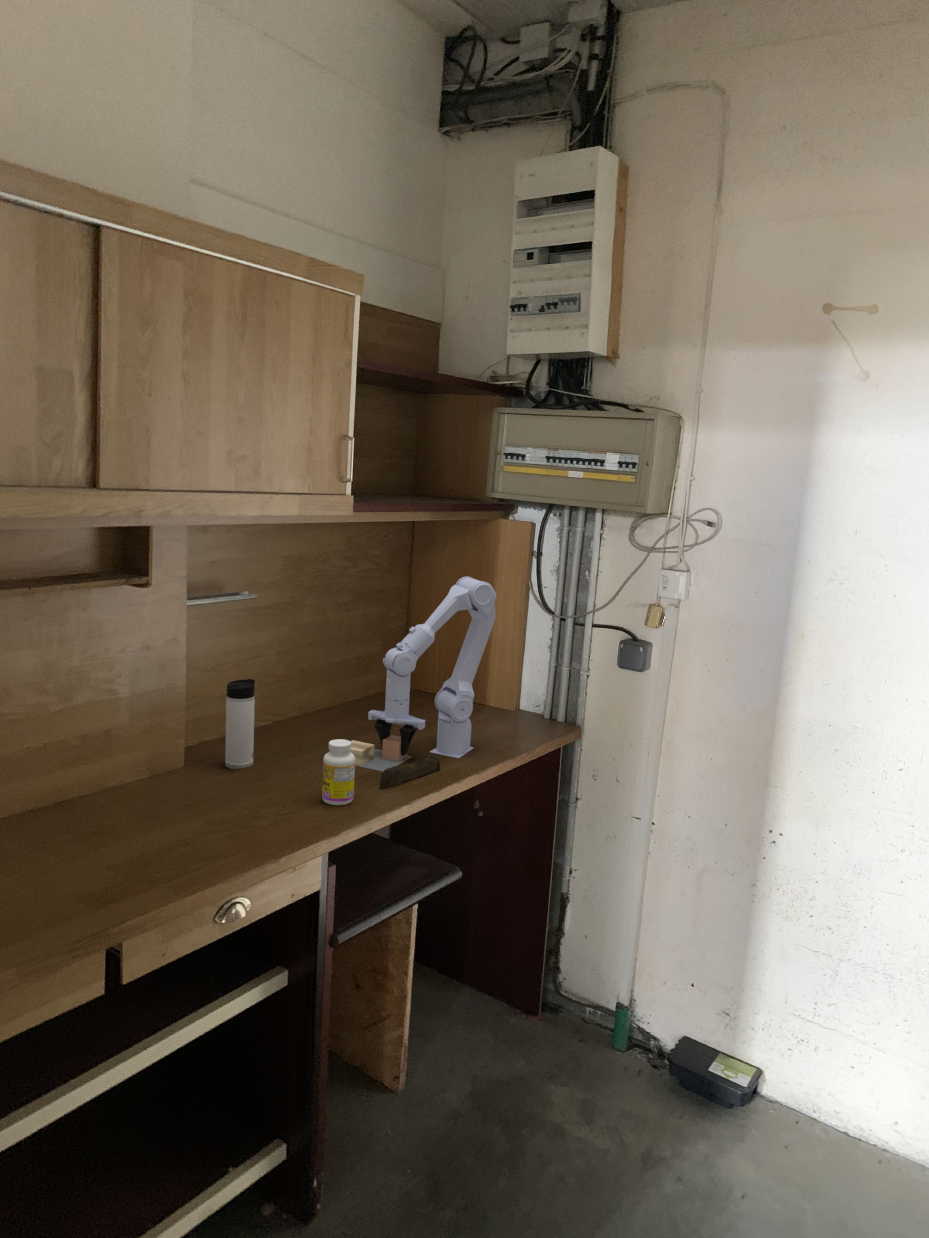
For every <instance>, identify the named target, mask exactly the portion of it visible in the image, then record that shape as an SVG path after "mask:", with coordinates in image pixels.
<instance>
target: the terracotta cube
mask: <svg viewBox="0 0 929 1238" xmlns="http://www.w3.org/2000/svg"><path fill="white" fill-rule="evenodd" d="M381 750H382V758H386V759H391V760H395V761H400V760H401V759H403V758H405V757H406V756H408V753H407V754H406V755H404V756H402V755H401V736H398V735H394V734H392V735H391V734H390V736H389V737H387V738H385V739H383V746H381Z"/></svg>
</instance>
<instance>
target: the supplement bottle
mask: <svg viewBox="0 0 929 1238" xmlns="http://www.w3.org/2000/svg"><path fill="white" fill-rule="evenodd" d="M327 747H328V750H329V751H328V752H327V753H325V754H324V756H323V763H322V764H323V765H322V769H323V770H322V787H321V789H322V790H321V791H322V793H321V796H322V797H321V798H322V800H323V802H324V803H325V804H328V805H330V806H345V805H349V804H350V803H352V802H353V800H354V797H355V796H354V795H355V777H356V776H355V775H356V774H355V772H356V766H355V756H354V755H353V754H352V753H351V752H350V750H351V742H350V740H348V739H342V738H341V739H340V738H338V739H336V738H335V739H331V740H330V741H329V742H328V746H327Z"/></svg>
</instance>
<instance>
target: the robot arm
mask: <svg viewBox="0 0 929 1238" xmlns="http://www.w3.org/2000/svg"><path fill="white" fill-rule="evenodd" d="M497 597H498V595H497V593H496V591H495V589H494V587H493V586H492V585H491V583H489V582H487V581H482V580H478V579H475V578H473V577H472V576H468V575H467V576H463V577H461V578H459V579H458V580H457V581H456V583H455V584H454V585H452V586H451V587H450V589H449V591H448V594H447V595H446V596H445V598H443V600H442V601H441V603H440V604H439V605H438V606H437V608H436V609H435V610H434V611H433V612H432V613H431V614H430V616H429V617H428V619H427V620H425V622H424V623H422V624H421V623H420V624H416V625H415V626H411V628H409V630H408V631H409V633H407V635H405V637H403V639H402V640H401V641H400V642H398V643H396V644H395V646H396V647H392V648H391V649H388V651H387V652H386V654H385V657H384V658H382V663H383V665H384V667H385V669H386V679H385V681H386V684H385V703H384V704H385V706H384V711H383V710H375V709H371V710H370V711H368V713H367V714H368V715H367V716H368V717H367V720H371V721H372V720H375V721H376V722H375V723H374V724H373V725H374V729H375V731H376V733H377V735H378V738H379V740H380V745H381V747H382V746H383V739H385V738H387V737H389V736H391V730H392V726H393V724H395V725H399V726H403V727H401V728H399V734H400V737H401V755H402V756H404V755H406V754H407V755H408V751H409V749H410V745H411V743H412V741H413V738H414V735H416V734H415V733H416V732H417V730H420V731H422V730H423V729H425V728H426V719H422V718H418V717H415V716H413V715H410V714H409V713H410V696H411V695H410V694H411V693H410V692H411V673H413V672H414V671H415V669H416V665H417V661H418V660H419V658H420V657H421V656H422V655H424V653H425V652H426V650H428V648H429V647H430V646H431V645H432V644H433V643H434V642H435V636H436V635H435V634H436V633H437V632H438V631H440V628H442V627H443V626H444V625H445V624H446V623H447V622H448V621H449V620H451V618H453V616H454V615H455V614H456V613H457V612H459V611H460V612H461V611H466V610H467V611H468V613H469V614H470V617H471V621H470V623H469V626H468V629H467V632H466V635H465V638H464V640H463V643H462V646H461V649H460V652H459V654H458V657H457V659H456V663H455V665H454V668H453V671H452V674H451V677H450V678H448V679H447V680H445V681H444V682H443V684H442V687H441V688H440V690H439V691H438V692H437V693H436V695H435V698H434V706H435V707H436V709H437V710H438V716H437V732H436V733H437V736H436V737H437V738H436V747H435V748H433V749H432V750H430V751H429V752H430V753H431V754H436V755H441V756H445V757H451V758H454V759H455V758H456V759H460V758H462V757H463V756H464V755H466V754H468V753H469V752H471V751H472V750H473V749H474V747H472V746H471V739H472V721H471V720H470V717H471V715H472V714H473V710H474V709H473V708H474V704H473V703H474V698H475V692H474V689H473V688H474V687H473V682H474V679H475V677H476V674H477V671H478V669H479V665H480V663H481V660H482V657H483V654H484V652H485V648H486V646H487V645H488V644H487V643H488V641H489V637H490V636H491V632H492V629H493V626H494V624H495V621H496V617H497V616H496V604H495V603H496V598H497Z"/></svg>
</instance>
